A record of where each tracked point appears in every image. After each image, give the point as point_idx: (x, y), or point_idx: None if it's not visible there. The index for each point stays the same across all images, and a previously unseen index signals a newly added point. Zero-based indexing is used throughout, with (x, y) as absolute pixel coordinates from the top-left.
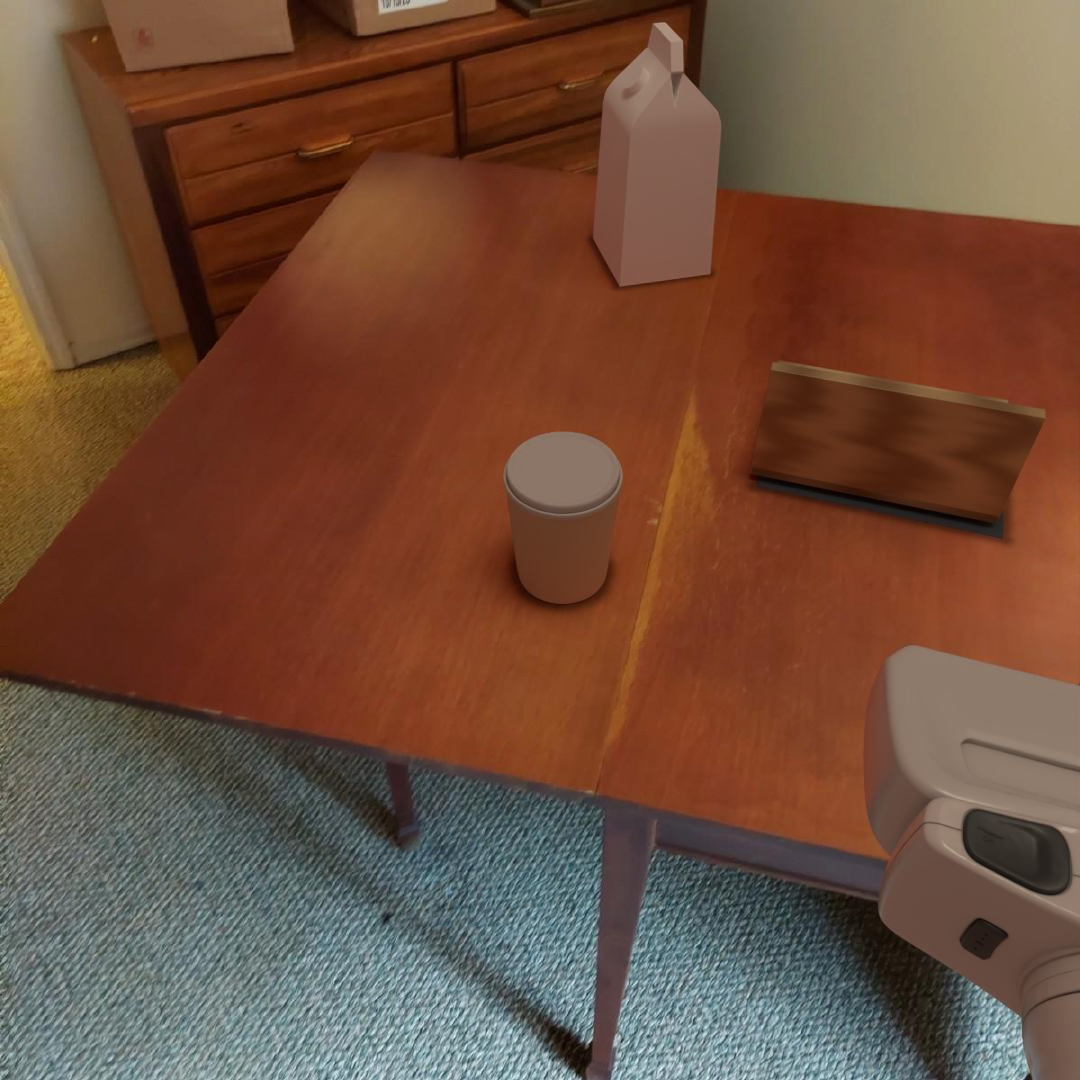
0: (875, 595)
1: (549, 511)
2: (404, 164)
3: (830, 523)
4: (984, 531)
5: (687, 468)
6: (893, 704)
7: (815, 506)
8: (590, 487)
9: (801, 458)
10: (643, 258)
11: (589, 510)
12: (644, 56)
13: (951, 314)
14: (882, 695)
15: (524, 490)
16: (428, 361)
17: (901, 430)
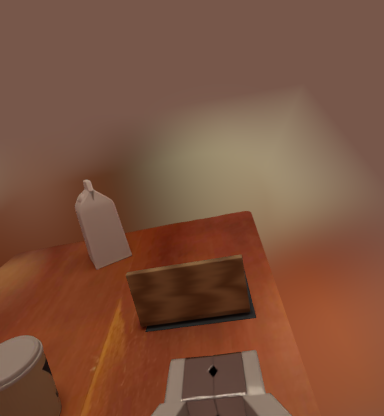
0: None
1: None
2: (24, 254)
3: (179, 338)
4: (247, 317)
5: (114, 334)
6: None
7: (172, 332)
8: (15, 366)
9: (158, 311)
10: (102, 256)
11: (11, 381)
12: (83, 191)
13: (218, 242)
14: None
15: None
16: (3, 324)
17: (190, 283)
